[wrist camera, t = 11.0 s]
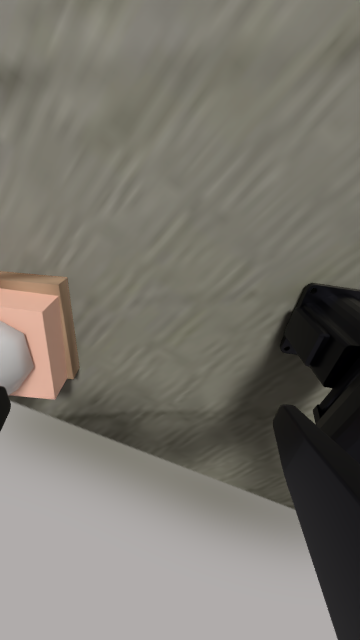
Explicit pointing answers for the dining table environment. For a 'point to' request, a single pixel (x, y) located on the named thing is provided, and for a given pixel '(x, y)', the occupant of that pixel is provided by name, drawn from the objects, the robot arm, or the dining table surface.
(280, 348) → the robot arm
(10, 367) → the flask
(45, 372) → the terracotta slab
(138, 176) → the dining table surface
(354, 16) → the dining table surface
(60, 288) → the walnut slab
